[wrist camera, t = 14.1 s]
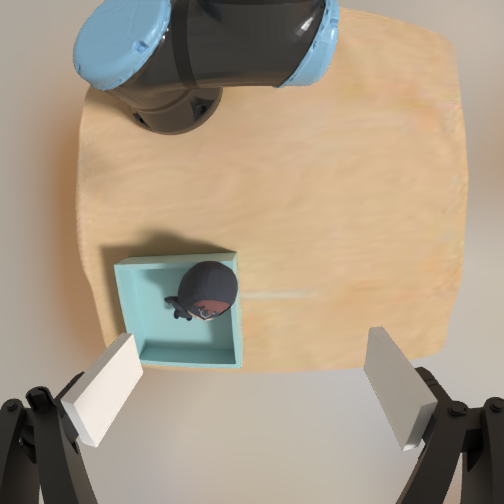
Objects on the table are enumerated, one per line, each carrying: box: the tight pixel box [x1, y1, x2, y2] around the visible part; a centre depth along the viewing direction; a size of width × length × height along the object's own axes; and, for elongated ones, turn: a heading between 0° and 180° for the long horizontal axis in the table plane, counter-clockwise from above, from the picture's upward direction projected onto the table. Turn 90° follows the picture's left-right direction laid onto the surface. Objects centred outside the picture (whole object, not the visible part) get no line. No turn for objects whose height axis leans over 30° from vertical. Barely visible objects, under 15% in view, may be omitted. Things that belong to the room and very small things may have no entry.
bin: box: [114, 252, 244, 368], centre depth 45 cm, size 18×19×6 cm
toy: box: [164, 261, 238, 321], centre depth 41 cm, size 9×8×15 cm
